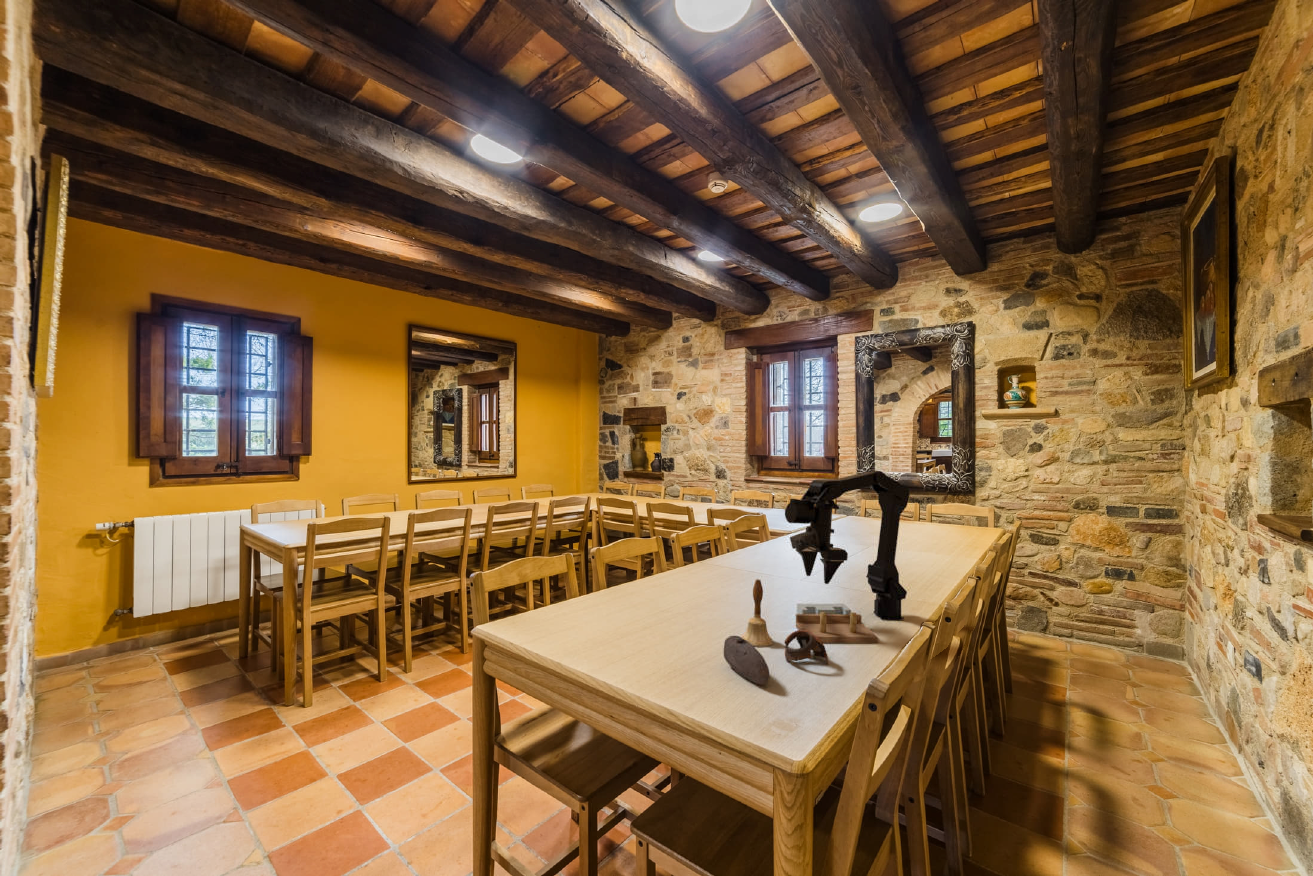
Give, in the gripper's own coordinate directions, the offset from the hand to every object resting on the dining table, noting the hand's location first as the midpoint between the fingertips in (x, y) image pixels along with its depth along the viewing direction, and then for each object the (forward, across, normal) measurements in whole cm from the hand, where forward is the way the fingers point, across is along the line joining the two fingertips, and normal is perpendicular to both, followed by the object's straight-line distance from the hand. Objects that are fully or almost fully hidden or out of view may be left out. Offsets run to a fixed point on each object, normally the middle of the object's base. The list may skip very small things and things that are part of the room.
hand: (817, 579), depth 151 cm
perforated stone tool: (+16, +25, -32) cm, 43 cm away
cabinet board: (+13, +7, +2) cm, 15 cm away
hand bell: (+15, +6, -21) cm, 26 cm away
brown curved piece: (+14, +20, -15) cm, 29 cm away
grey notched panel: (+12, -5, +6) cm, 15 cm away
